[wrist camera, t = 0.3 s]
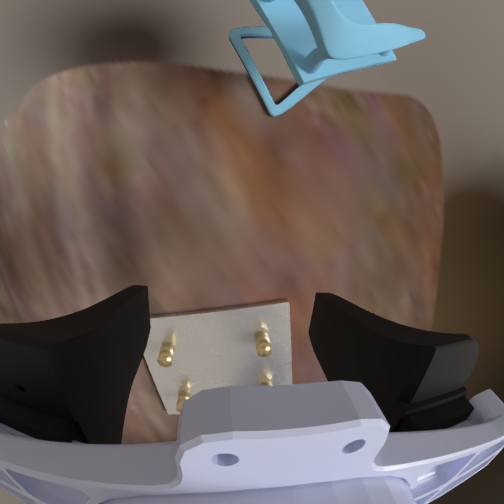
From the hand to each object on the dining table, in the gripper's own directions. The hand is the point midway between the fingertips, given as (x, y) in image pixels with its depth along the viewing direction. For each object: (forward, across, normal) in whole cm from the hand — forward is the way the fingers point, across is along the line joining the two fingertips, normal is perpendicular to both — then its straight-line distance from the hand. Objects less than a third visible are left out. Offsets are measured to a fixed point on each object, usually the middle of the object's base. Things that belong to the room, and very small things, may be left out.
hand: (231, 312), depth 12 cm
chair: (+11, -4, -15) cm, 19 cm away
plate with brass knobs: (+10, 0, +11) cm, 15 cm away
